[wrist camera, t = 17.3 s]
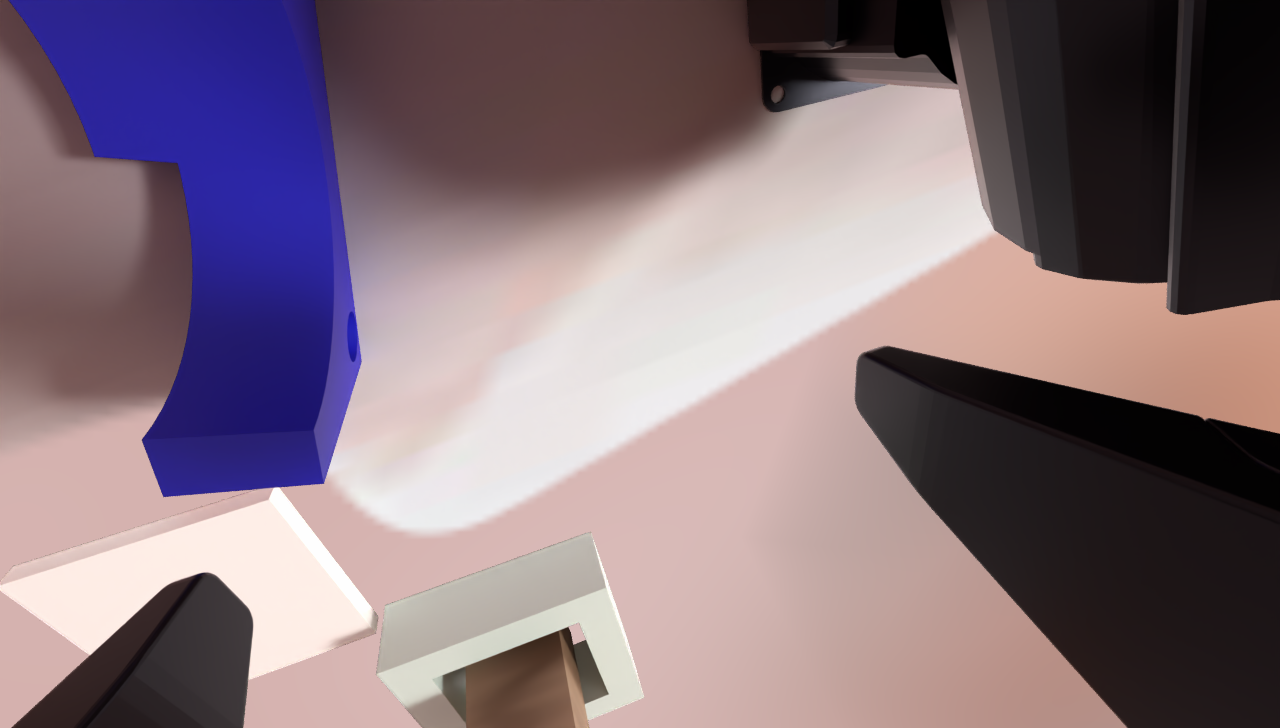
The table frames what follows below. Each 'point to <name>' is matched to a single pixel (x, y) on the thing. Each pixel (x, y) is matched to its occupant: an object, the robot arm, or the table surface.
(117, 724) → the robot arm
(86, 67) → the cable clip
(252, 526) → the tile
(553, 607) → the frame
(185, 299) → the table surface
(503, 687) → the walnut peg block
